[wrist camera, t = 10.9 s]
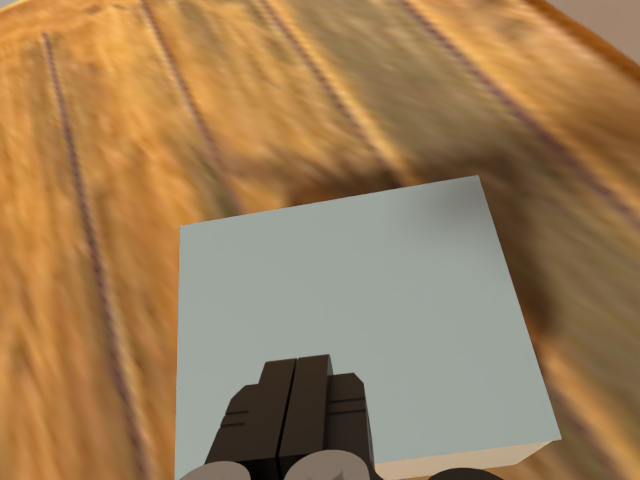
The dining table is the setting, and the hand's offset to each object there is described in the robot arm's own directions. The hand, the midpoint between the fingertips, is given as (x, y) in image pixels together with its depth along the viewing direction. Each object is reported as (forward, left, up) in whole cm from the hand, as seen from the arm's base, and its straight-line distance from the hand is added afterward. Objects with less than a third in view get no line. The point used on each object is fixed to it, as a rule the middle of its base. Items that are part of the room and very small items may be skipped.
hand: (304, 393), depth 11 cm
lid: (0, -9, -16) cm, 19 cm away
